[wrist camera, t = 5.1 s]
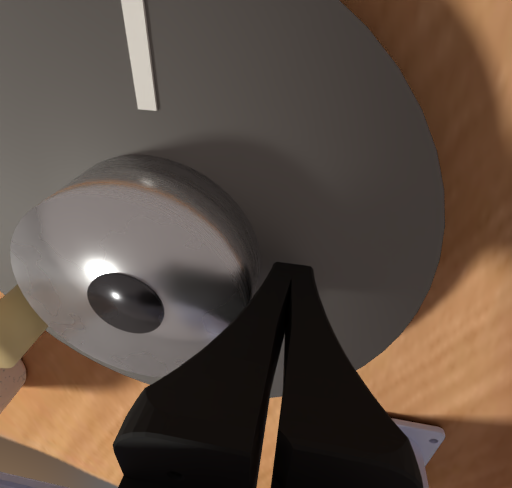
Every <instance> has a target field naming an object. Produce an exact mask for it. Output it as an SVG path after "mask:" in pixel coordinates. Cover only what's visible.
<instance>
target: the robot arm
mask: <svg viewBox="0 0 512 488" xmlns="http://www.w3.org/2000/svg"><path fill="white" fill-rule="evenodd" d="M284 335H285V343H284V370H283V392H282V403H281V411H280V419H279V427H278V435H277V443H276V451H275V459H274V467H273V475H272V483H271V488H429V485H428V480H427V475H426V470H425V466H426V465H427V463H428V462H429V460H430V459H431V457H432V456H433V455H434V453H435V452H436V450H437V449H438V447H439V446H440V444H441V443H442V442H443V440H444V439H445V432H444V430H443V429H442V428H440V427H437V426H432V425H426V424H421V423H416V422H410V421H405V420H399V419H394V418H390V416H389V415H388V414H387V413H386V411H385V410H384V409H383V408H382V406H381V405H380V404H379V403H378V401H377V400H376V399H375V397H374V396H373V395H372V393H371V392H370V391H369V389H368V388H367V386H366V385H365V383H364V382H363V380H362V379H361V378H360V376H359V375H358V373H357V372H356V370H355V369H354V367H353V366H352V364H351V362H350V361H349V359H348V357H347V356H346V354H345V352H344V350H343V349H342V347H341V345H340V343H339V341H338V339H337V337H336V335H335V333H334V331H333V329H332V327H331V324H330V322H329V320H328V318H327V315H326V313H325V310H324V307H323V305H322V302H321V299H320V296H319V293H318V290H317V286H316V282H315V278H314V270H313V268H312V267H311V266H306V265H298V264H291V263H283V262H275V263H274V264H273V266H272V268H271V270H270V272H269V274H268V276H267V277H266V279H265V280H264V282H263V284H262V285H261V287H260V288H259V289H258V291H257V292H256V293H255V295H254V296H253V298H252V299H251V300H250V302H249V303H248V304H247V305H246V306H245V307H244V309H243V310H242V311H241V312H240V313H239V315H238V316H237V317H236V318H235V319H234V320H233V321H232V322H231V323H230V324H229V325H228V326H227V327H226V328H225V329H224V330H223V331H222V332H221V333H220V334H219V335H218V336H217V337H216V338H215V339H213V340H212V341H211V342H210V343H209V344H208V345H207V346H205V347H204V348H203V349H202V350H201V351H199V352H198V353H197V354H195V355H194V356H193V357H191V358H190V359H189V360H187V361H186V362H185V363H183V364H182V365H181V366H179V367H178V368H176V369H175V370H173V371H172V372H170V373H169V374H167V375H166V376H164V377H162V378H161V379H159V380H158V381H156V382H154V383H153V384H151V385H150V386H148V387H146V388H145V389H144V390H143V391H142V393H141V394H140V396H139V397H138V398H137V400H136V401H135V403H134V405H133V406H132V408H131V409H130V411H129V412H128V414H127V416H126V418H125V420H124V422H123V424H122V426H121V428H120V430H119V433H118V435H117V437H116V439H115V441H114V443H113V448H114V453H115V455H116V458H117V460H118V463H119V465H120V467H121V470H122V472H123V474H124V476H123V478H122V480H121V483H120V485H119V487H118V488H256V486H257V479H258V472H259V465H260V459H261V452H262V445H263V438H264V432H265V425H266V418H267V411H268V405H269V398H270V393H271V388H272V384H273V380H274V375H275V371H276V367H277V363H278V359H279V355H280V351H281V347H282V343H283V339H284ZM0 488H67V487H64V486H59V485H55V484H50V483H46V482H42V481H38V480H33V479H29V478H25V477H20V476H16V475H11V474H8V473H3V472H0Z"/></svg>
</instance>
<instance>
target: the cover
mask: <svg viewBox="0 0 512 488" xmlns="http://www.w3.org/2000/svg"><path fill="white" fill-rule="evenodd" d="M10 257H11V265H12V269H13V273H14V276H15V278H16V281H17V284H18V286H19V288H20V289H21V291H22V293H23V295H24V297H25V298H26V300H27V301H28V303H29V304H30V306H31V307H32V308H33V309H34V311H35V312H36V313H37V314H38V315H39V317H40V318H41V319H42V320H43V321H44V322H45V323H46V324H47V325H48V326H49V327H50V328H51V329H53V330H54V331H55V332H56V333H57V334H58V335H59V336H61V337H62V338H63V339H65V340H66V341H67V342H69V343H70V344H72V345H73V346H75V347H76V348H78V349H79V350H81V351H83V352H84V353H86V354H88V355H90V356H92V357H93V358H95V359H98V360H100V361H102V362H104V363H106V364H109V365H111V366H114V367H116V368H119V369H122V370H126V371H129V372H132V373H137V374H141V375H146V376H153V377H164V376H166V375H167V374H169V373H170V372H172V371H173V370H175V369H176V368H178V367H179V366H181V365H182V364H183V363H185V362H186V361H187V360H189V359H190V358H191V357H193V356H194V355H195V354H197V353H198V352H199V351H201V350H202V349H203V348H204V347H205V346H207V345H208V344H209V343H210V342H211V341H212V340H213V339H215V338H216V337H217V336H218V335H219V334H220V333H221V332H222V331H223V330H224V329H225V328H226V327H227V326H228V325H229V324H230V323H231V322H232V321H233V320H234V319H235V318H236V317H237V316H238V315H239V313H240V312H241V311H242V310H243V309H244V307H245V306H246V305H247V304H248V303H249V302H250V300H251V299H252V298H253V296H254V292H255V289H256V285H257V281H258V277H259V272H260V250H259V245H258V241H257V238H256V235H255V232H254V230H253V228H252V226H251V224H250V222H249V220H248V218H247V217H246V215H245V214H244V212H243V211H242V209H241V208H240V207H239V205H238V204H237V203H236V202H235V201H234V199H233V198H232V197H231V196H230V195H229V194H228V193H227V192H226V191H224V190H223V189H222V188H221V187H220V186H219V185H218V184H216V183H215V182H213V181H212V180H211V179H209V178H208V177H207V176H205V175H203V174H201V173H200V172H198V171H196V170H195V169H192V168H190V167H188V166H186V165H183V164H181V163H179V162H176V161H172V160H169V159H166V158H162V157H156V156H151V155H123V156H118V157H113V158H109V159H107V160H104V161H102V162H100V163H97V164H96V165H94V166H93V167H91V168H89V169H88V170H87V171H85V172H84V173H82V174H81V175H79V176H78V177H77V178H75V179H74V180H72V181H71V182H69V183H68V184H67V185H65V186H64V187H62V188H61V189H60V190H58V191H57V192H55V193H54V194H52V195H51V196H50V197H48V198H47V199H45V200H44V201H42V202H41V203H40V204H38V205H37V206H35V207H34V208H33V209H31V210H30V211H29V212H28V213H27V214H26V215H25V216H24V217H23V218H22V219H21V220H20V222H19V223H18V225H17V226H16V228H15V230H14V233H13V236H12V239H11V247H10Z"/></svg>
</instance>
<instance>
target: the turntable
mask: <svg viewBox="0 0 512 488" xmlns="http://www.w3.org/2000/svg"><path fill="white" fill-rule="evenodd" d="M123 155H151V156H156V157H162V158H166V159H169V160H172V161H176V162H179V163H181V164H183V165H186V166H188V167H190V168H192V169H195V170H196V171H198V172H200V173H201V174H203V175H205V176H207V177H208V178H209V179H211V180H212V181H213V182H215V183H216V184H218V185H219V186H220V187H221V188H222V189H223V190H224V191H226V192H227V193H228V194H229V195H230V196H231V197H232V198H233V199H234V201H235V202H236V203H237V204H238V205H239V207H240V208H241V209H242V211H243V212H244V214H245V215H246V217H247V218H248V220H249V222H250V224H251V226H252V228H253V230H254V232H255V235H256V238H257V241H258V245H259V250H260V272H259V277H258V281H257V285H256V289H255V292H254V295H255V293H256V292H257V291H258V289H259V288H260V287H261V285H262V284H263V282H264V280H265V279H266V277H267V276H268V274H269V272H270V270H271V268H272V266H273V264H274V263H275V262H283V263H291V264H298V265H306V266H311V267H312V268H313V270H314V278H315V282H316V286H317V290H318V293H319V296H320V299H321V302H322V305H323V307H324V310H325V313H326V315H327V318H328V320H329V322H330V324H331V327H332V329H333V331H334V333H335V335H336V337H337V339H338V341H339V343H340V345H341V347H342V349H343V350H344V352H345V354H346V356H347V357H348V359H349V361H350V362H351V364H352V366H353V367H354V369H355V370H357V369H359V368H361V367H363V366H364V365H366V364H367V363H368V362H370V361H371V360H372V359H374V358H375V357H376V356H378V355H379V354H380V353H382V352H383V351H384V350H385V349H386V348H387V347H388V346H389V345H390V344H391V343H392V342H393V341H394V340H395V339H396V338H397V337H398V336H399V335H400V334H401V333H402V332H403V331H404V329H405V328H406V327H407V325H408V324H409V323H410V321H411V320H412V319H413V317H414V316H415V315H416V313H417V312H418V310H419V308H420V306H421V304H422V302H423V300H424V299H425V297H426V295H427V293H428V291H429V289H430V287H431V284H432V281H433V278H434V275H435V272H436V269H437V266H438V263H439V260H440V254H441V248H442V241H443V235H444V228H445V210H444V187H443V181H442V176H441V170H440V165H439V160H438V154H437V150H436V147H435V144H434V142H433V139H432V136H431V133H430V131H429V128H428V125H427V122H426V119H425V117H424V114H423V111H422V109H421V107H420V105H419V103H418V102H417V100H416V98H415V96H414V94H413V93H412V91H411V89H410V87H409V85H408V84H407V82H406V80H405V78H404V76H403V74H402V73H401V71H400V69H399V67H398V66H397V65H396V64H395V62H394V61H393V60H392V58H391V57H390V56H389V54H388V53H387V52H386V51H385V49H384V48H383V47H382V45H381V44H380V43H379V42H378V40H377V39H376V38H375V36H374V35H373V34H372V33H371V31H370V30H369V29H368V27H367V26H366V25H365V24H364V23H363V22H361V21H360V20H359V19H358V18H357V17H356V16H355V15H354V14H353V13H352V12H351V11H350V10H349V9H348V8H347V7H346V6H345V5H344V4H342V3H341V2H340V1H339V0H0V291H1V292H2V293H3V294H4V295H5V296H4V297H3V298H2V299H0V368H11V367H13V366H15V364H16V363H17V362H18V361H19V360H20V359H21V358H22V356H23V355H24V354H25V353H26V352H27V351H28V349H29V348H30V347H31V346H32V345H33V344H34V342H35V341H36V340H37V339H38V338H39V337H40V336H41V334H42V333H43V332H44V331H45V330H46V331H47V332H48V333H50V334H51V335H53V336H54V337H55V338H57V339H58V340H60V341H61V342H63V343H64V344H66V345H67V346H69V347H71V348H72V349H74V350H75V351H77V352H79V353H80V354H82V355H84V356H86V357H88V358H90V359H91V360H93V361H95V362H97V363H99V364H101V365H103V366H105V367H107V368H109V369H112V370H114V371H116V372H118V373H120V374H123V375H125V376H128V377H131V378H133V379H136V380H139V381H141V382H144V383H147V384H150V385H151V384H153V383H154V382H156V381H158V380H159V379H161V378H162V377H153V376H146V375H141V374H137V373H132V372H129V371H126V370H122V369H119V368H116V367H114V366H111V365H109V364H106V363H104V362H102V361H100V360H98V359H95V358H93V357H92V356H90V355H88V354H86V353H84V352H83V351H81V350H79V349H78V348H76V347H75V346H73V345H72V344H70V343H69V342H67V341H66V340H65V339H63V338H62V337H61V336H59V335H58V334H57V333H56V332H55V331H54V330H53V329H51V328H50V327H49V326H48V325H47V324H46V323H45V322H44V321H43V320H42V319H41V318H40V317H39V315H38V314H37V313H36V312H35V311H34V309H33V308H32V307H31V306H30V304H29V303H28V301H27V300H26V298H25V297H24V295H23V293H22V291H21V289H20V288H19V286H18V284H17V281H16V278H15V276H14V273H13V269H12V265H11V257H10V247H11V239H12V236H13V233H14V230H15V228H16V226H17V225H18V223H19V222H20V220H21V219H22V218H23V217H24V216H25V215H26V214H27V213H28V212H29V211H30V210H31V209H33V208H34V207H35V206H37V205H38V204H40V203H41V202H42V201H44V200H45V199H47V198H48V197H50V196H51V195H52V194H54V193H55V192H57V191H58V190H60V189H61V188H62V187H64V186H65V185H67V184H68V183H69V182H71V181H72V180H74V179H75V178H77V177H78V176H79V175H81V174H82V173H84V172H85V171H87V170H88V169H89V168H91V167H93V166H94V165H96V164H97V163H100V162H102V161H104V160H107V159H109V158H113V157H118V156H123ZM284 343H285V335H284V339H283V343H282V347H281V351H280V355H279V359H278V363H277V367H276V371H275V375H274V380H273V384H272V388H271V393H270V398H271V397H280V396H282V392H283V370H284Z"/></svg>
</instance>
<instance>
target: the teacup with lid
mask: <svg viewBox="0 0 512 488" xmlns="http://www.w3.org/2000/svg"><path fill="white" fill-rule="evenodd" d="M25 380H26V368H25V366H24V363H23V361H22V360H21V359H20V360H19V361H18V362H17V363H16V364H15V366H13V367H11V368H0V413H1V412H2V411H3V410H4V408H5V407H6V406H7V405H8V403H9V402H10V401H11V400H12V398H13V397H14V396H15V395H16V393H17V392H18V391H19V390H20V388H21V387H22V386H23V384H24V383H25Z"/></svg>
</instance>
